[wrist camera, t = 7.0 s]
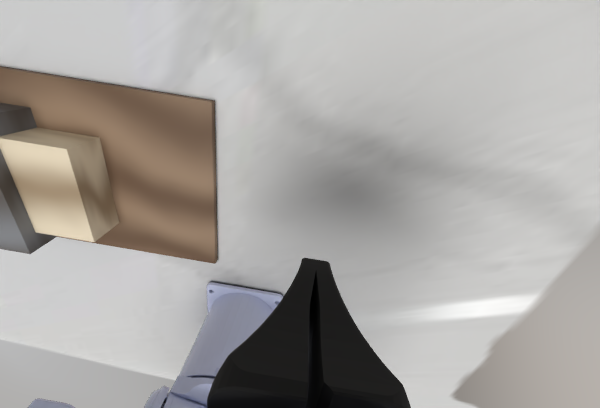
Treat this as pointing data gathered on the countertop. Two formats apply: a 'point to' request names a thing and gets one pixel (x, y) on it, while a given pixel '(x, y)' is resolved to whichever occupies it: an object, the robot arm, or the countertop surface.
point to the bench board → (122, 160)
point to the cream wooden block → (61, 182)
